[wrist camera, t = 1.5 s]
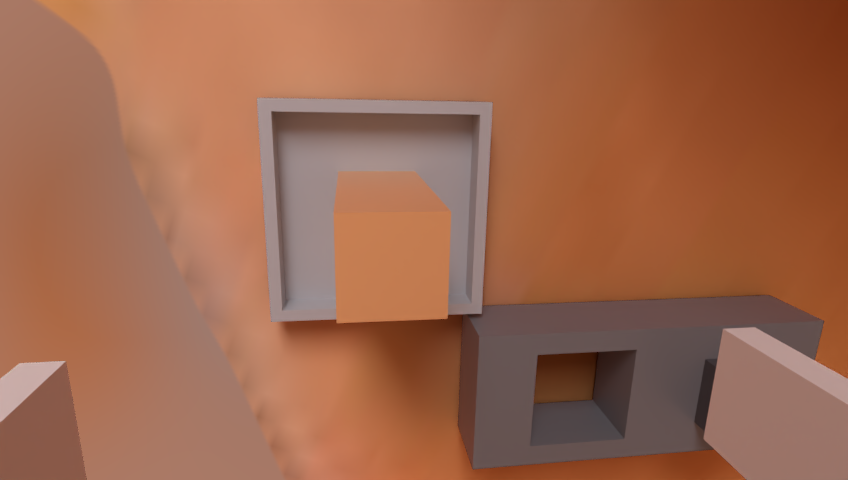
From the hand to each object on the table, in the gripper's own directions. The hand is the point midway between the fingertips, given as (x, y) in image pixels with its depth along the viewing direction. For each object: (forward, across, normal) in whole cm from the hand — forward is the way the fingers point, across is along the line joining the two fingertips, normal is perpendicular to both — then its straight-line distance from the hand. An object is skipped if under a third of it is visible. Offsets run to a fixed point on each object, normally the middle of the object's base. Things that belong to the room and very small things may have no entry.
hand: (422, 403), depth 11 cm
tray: (+19, 0, 0) cm, 19 cm away
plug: (+18, 0, 0) cm, 18 cm away
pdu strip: (+19, +15, -10) cm, 26 cm away
